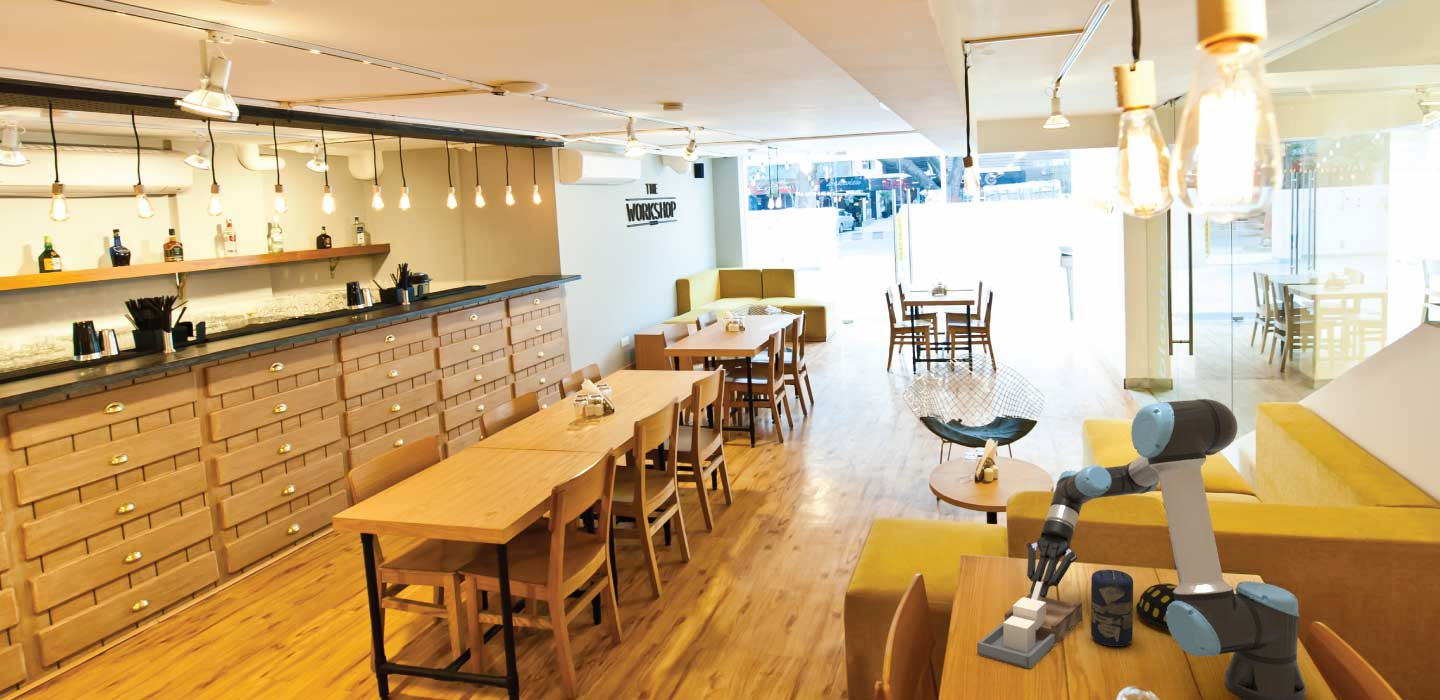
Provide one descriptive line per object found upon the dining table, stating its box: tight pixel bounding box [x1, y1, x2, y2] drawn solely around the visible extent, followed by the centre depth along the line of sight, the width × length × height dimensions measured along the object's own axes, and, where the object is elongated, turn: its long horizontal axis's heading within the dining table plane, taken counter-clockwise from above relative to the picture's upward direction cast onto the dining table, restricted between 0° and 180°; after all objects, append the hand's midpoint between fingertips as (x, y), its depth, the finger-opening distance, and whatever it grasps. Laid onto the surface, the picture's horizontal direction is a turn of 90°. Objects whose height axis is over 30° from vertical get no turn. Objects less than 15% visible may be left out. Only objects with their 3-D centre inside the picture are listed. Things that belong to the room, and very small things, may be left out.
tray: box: [976, 621, 1056, 670], centre depth 228 cm, size 15×13×3 cm
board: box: [1004, 593, 1083, 645], centre depth 240 cm, size 18×13×5 cm
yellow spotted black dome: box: [1135, 582, 1178, 630], centre depth 239 cm, size 16×9×20 cm
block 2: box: [1002, 616, 1036, 652], centre depth 228 cm, size 6×6×5 cm
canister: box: [1090, 569, 1134, 647], centre depth 229 cm, size 10×10×18 cm
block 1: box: [1012, 596, 1046, 630], centre depth 233 cm, size 6×6×5 cm
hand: (1033, 607), depth 237 cm, fingers closed
